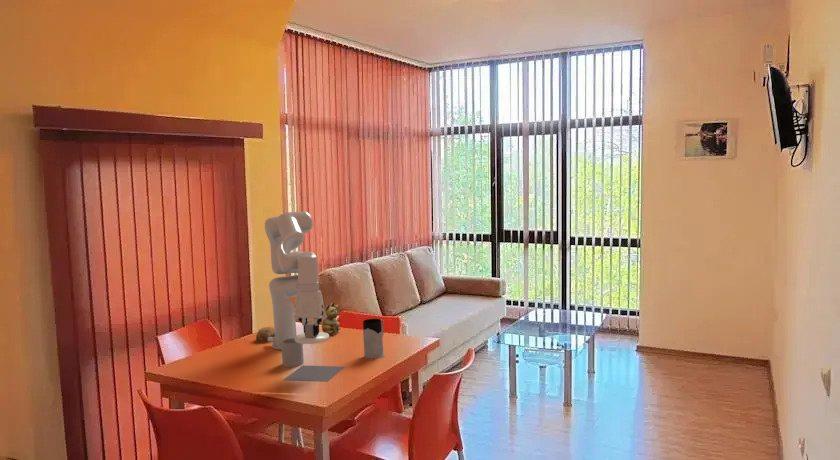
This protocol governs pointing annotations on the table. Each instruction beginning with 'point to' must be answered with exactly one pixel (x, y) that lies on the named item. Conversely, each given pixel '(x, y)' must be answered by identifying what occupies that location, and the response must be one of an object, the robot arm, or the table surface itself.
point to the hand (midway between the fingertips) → (311, 334)
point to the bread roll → (265, 334)
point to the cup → (292, 353)
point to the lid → (311, 335)
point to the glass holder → (373, 338)
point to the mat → (314, 373)
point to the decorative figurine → (331, 320)
